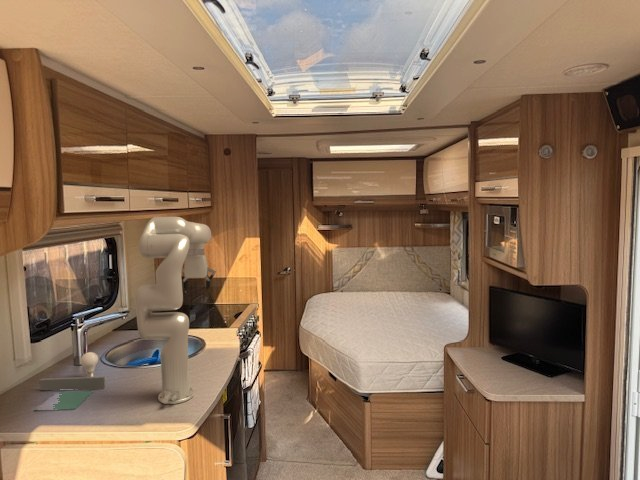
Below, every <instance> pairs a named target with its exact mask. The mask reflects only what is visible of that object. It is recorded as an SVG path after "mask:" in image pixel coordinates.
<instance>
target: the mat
mask: <svg viewBox="0 0 640 480" xmlns="http://www.w3.org/2000/svg"><path fill="white" fill-rule="evenodd" d="M60 392H61V393H59V394H62V395H59V397H60V398H57V399H59V400H58V401H60V402H58V404H53V405H55V406H53V407H55V408H53V409H54V410H55V409H58V410H57V411H73V410H76V409H77V408H78V407H79V406H80V405H82V404H83V402H85V401H86V399H88V398H89V397H90V396H91V395H92V394H93V393H94V390H85V391H84V390H77V391H60ZM59 409H60V410H59ZM33 410H38V409H35V408H34V409H33Z"/></svg>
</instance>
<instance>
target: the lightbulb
mask: <svg viewBox="0 0 640 480" xmlns="http://www.w3.org/2000/svg"><path fill="white" fill-rule="evenodd" d="M98 363H99V356H98V354H97V353H95V352H94V351H88V352H86V353H84V354H83V355H82V356H81V357H80V364H81V366H82V367H83V368H84V371H85V373H86V377H95V369H96V366H97V364H98Z"/></svg>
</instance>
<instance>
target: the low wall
mask: <svg viewBox="0 0 640 480" xmlns="http://www.w3.org/2000/svg"><path fill="white" fill-rule="evenodd" d="M38 383H39V391H40V390H60V389H74V390H73V391H76V390H75V389H82V390H81V391H84V390H83V389H86V390H85V391H88V390H105V389H106V387H107V386H106V384H107V383H106V376H94V377H87V376H80V377H79V376H75V377H55V378H54V377H53V378H52V377H51V378H49V377H48V378H40V379H39V382H38Z"/></svg>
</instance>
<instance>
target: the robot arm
mask: <svg viewBox="0 0 640 480" xmlns="http://www.w3.org/2000/svg"><path fill="white" fill-rule="evenodd" d="M211 240H212V231H211V228H210V227H209V226H208V225H207V224H204V223H198V222H193V221H189V220H188V221H187V220H186V219H184V218H183V217H180V216H154V217H152V218H150V219H149V221H148V222H147V223H146V225H145V227H144V229H143V232H142V234H141V236H140V239H139V241H138V253H139V254H140V256H141V257H143V258H144V259H145V258H146V259H163V260H162V262H161V263H160V264H159V265H158V266H157V269H156V270H155V278H156V279H155V280H156V283H155V284H154V283H152V284H151V283H150V284H144V285H141V286H139V287H138V288H137V290H136V293H135V298H134V301H135V302H134V306H135V314H136V324H137V332H138V335H139V337H140V338H141V339H142V340H145V341H146V340H147V341H149V340H150V341H152V340H165V341H166V340H167V341H166V342H165V344H164V345H163V346H162V347H161V350H160V369H161V386H162V387H161V389H162V391H161V392H160V393H159V394H158V396H157V398H158V399H157V400H158V402H160V403H162V404H165V405H176V404H182V403H184V402H187V401H189V400H190V399H192V398H193V397H194V395H195V389H194V388H192V387H190V385H191V384H190V373H189V372H190V370H189V369H190V368H189V345H188V343H189V329H190V319H189V316H188V315H187V314H186V313H184V312H180V311H179V312H178V311H176V310H178V309H180V308H181V307H182V306H183V302H184V295H183V294H184V293H183V289H184V291H187V290H189V281H188V279H201V278H204V279H205V280H206V281H205V288H206V291H208V290H209V289H211V280H212V279H213V278H214V277H215V274H216V270H214V269H212V268H210V267H209V266H208V260H207V255H206V254H205V244H209V242H210V241H211ZM183 265H184V268H183ZM183 273H184V274H183ZM209 273H211V275H209ZM167 311H169V312H167Z"/></svg>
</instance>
